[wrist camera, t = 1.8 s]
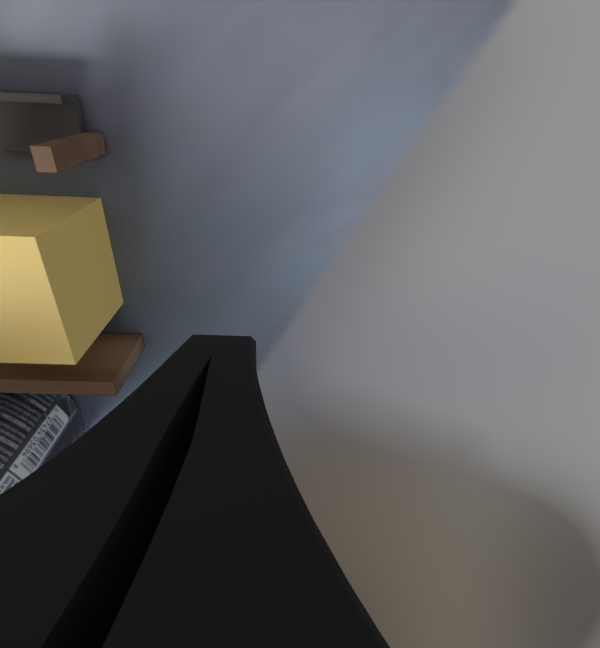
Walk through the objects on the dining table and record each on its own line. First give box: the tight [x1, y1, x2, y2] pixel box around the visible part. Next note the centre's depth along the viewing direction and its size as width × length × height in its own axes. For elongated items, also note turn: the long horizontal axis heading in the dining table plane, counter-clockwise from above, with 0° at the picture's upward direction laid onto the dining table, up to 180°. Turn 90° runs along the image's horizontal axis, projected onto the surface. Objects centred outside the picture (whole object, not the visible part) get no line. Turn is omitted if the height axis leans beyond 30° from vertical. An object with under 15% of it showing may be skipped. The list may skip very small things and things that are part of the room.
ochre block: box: [0, 194, 124, 365], centre depth 13 cm, size 4×4×4 cm
